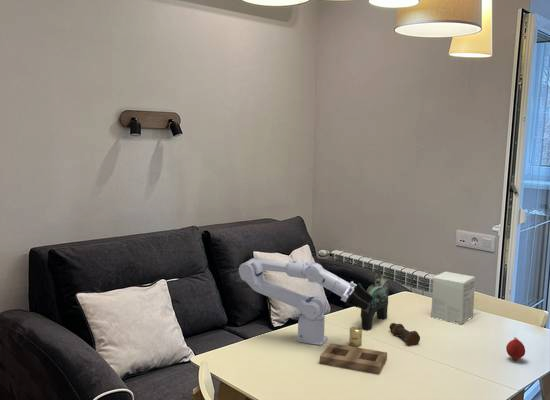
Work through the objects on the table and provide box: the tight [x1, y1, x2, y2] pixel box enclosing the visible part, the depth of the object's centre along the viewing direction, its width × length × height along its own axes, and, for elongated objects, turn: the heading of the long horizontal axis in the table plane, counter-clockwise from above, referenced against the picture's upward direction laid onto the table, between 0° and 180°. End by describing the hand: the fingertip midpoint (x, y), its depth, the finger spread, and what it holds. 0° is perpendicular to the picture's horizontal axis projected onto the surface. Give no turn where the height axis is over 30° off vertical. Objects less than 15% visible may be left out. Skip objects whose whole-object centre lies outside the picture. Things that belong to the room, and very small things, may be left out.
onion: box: [505, 336, 526, 361], centre depth 176 cm, size 6×6×8 cm
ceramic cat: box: [360, 273, 391, 331], centre depth 210 cm, size 20×6×20 cm, turn 144°
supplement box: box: [430, 271, 476, 325], centre depth 217 cm, size 13×13×18 cm
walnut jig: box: [319, 342, 388, 375], centre depth 175 cm, size 20×12×2 cm, turn 67°
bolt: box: [388, 322, 421, 347], centre depth 195 cm, size 6×5×15 cm
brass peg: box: [348, 326, 363, 348], centre depth 189 cm, size 4×4×6 cm
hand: (369, 303), depth 184 cm, fingers open, 7 cm apart
